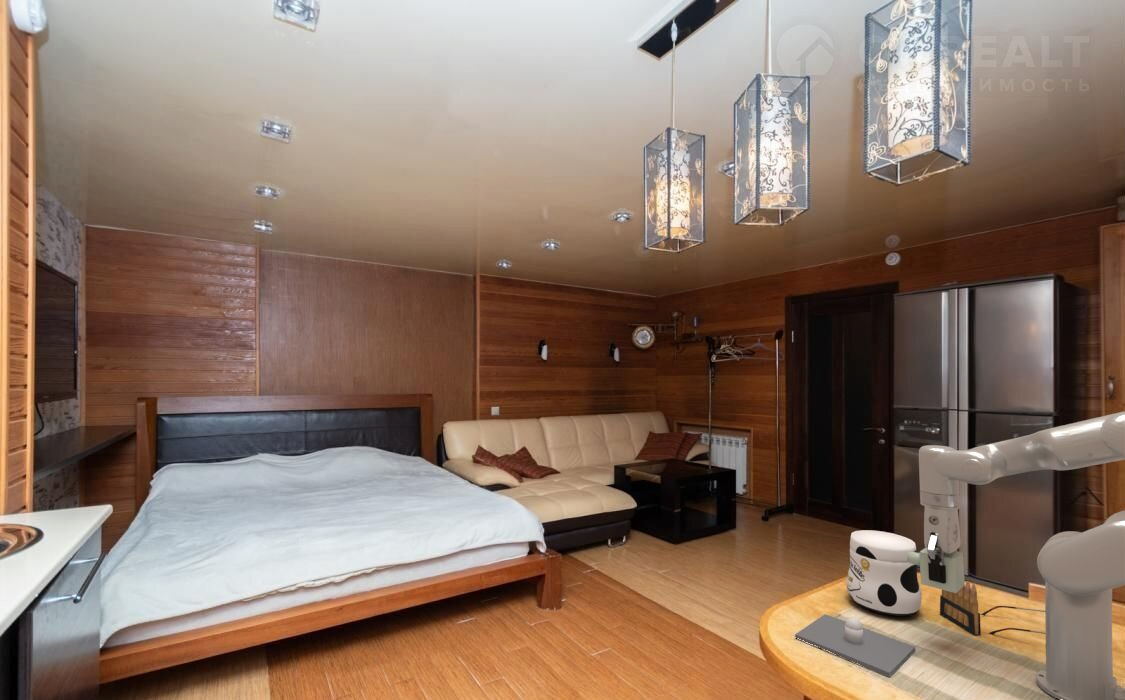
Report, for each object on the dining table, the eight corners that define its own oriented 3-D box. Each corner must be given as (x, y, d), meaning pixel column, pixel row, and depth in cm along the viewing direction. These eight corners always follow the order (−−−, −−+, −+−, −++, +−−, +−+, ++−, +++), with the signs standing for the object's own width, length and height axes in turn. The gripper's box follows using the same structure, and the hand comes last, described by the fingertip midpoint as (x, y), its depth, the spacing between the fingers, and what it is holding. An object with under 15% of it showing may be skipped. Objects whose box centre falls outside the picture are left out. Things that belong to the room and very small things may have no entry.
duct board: (915, 651, 120) (915, 624, 120) (889, 677, 109) (889, 648, 110) (825, 617, 135) (825, 594, 135) (795, 638, 125) (795, 612, 125)
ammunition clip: (981, 635, 127) (980, 585, 127) (973, 635, 127) (973, 585, 127) (946, 614, 138) (945, 568, 138) (939, 614, 138) (939, 568, 138)
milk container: (832, 597, 147) (831, 532, 147) (876, 588, 153) (876, 526, 154) (890, 626, 131) (889, 553, 131) (937, 615, 137) (936, 545, 137)
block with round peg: (964, 585, 121) (963, 552, 122) (956, 593, 117) (955, 559, 117) (914, 572, 129) (913, 542, 129) (905, 579, 125) (903, 548, 125)
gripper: (948, 509, 114) (951, 592, 113) (969, 496, 125) (972, 572, 125) (908, 502, 120) (911, 582, 119) (932, 491, 131) (934, 563, 130)
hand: (942, 576), depth 122 cm, fingers closed on block with round peg, 6 cm apart
